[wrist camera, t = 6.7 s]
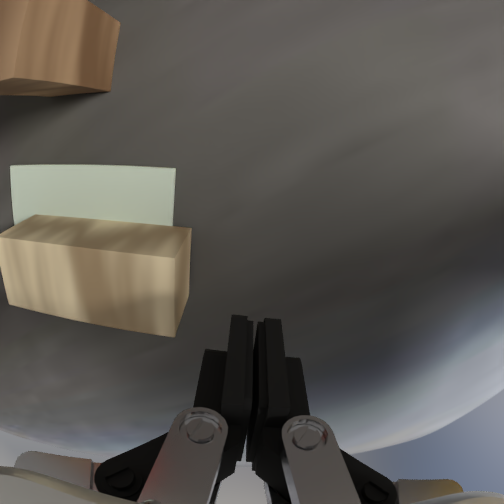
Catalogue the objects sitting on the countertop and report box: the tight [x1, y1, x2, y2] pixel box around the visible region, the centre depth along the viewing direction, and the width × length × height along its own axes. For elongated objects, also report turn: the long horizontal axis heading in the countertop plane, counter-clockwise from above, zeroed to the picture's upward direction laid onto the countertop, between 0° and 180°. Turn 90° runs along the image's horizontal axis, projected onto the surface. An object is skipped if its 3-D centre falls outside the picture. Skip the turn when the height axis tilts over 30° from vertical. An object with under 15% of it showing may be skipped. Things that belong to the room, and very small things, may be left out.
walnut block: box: [0, 0, 121, 97], centre depth 9 cm, size 4×4×8 cm
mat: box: [10, 164, 176, 226], centre depth 17 cm, size 11×10×1 cm
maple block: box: [0, 214, 192, 337], centre depth 15 cm, size 4×4×10 cm
